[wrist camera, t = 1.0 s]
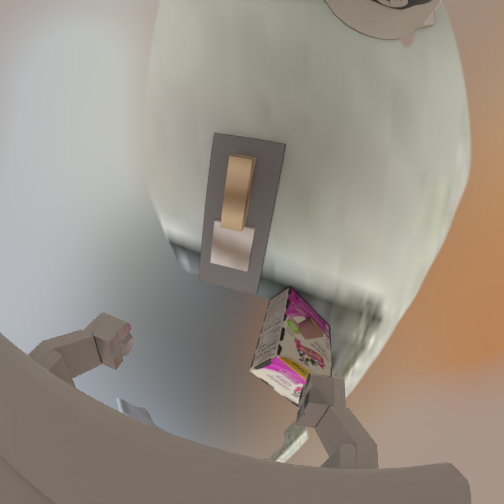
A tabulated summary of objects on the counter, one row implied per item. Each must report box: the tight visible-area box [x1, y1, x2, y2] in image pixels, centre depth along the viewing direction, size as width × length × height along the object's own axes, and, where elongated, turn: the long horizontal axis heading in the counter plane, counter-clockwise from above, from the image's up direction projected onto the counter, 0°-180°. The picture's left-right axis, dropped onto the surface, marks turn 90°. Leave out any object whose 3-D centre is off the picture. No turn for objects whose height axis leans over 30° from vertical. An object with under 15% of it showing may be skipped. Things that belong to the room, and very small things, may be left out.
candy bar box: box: [250, 287, 332, 408], centre depth 39 cm, size 11×5×16 cm, turn 45°
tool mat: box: [199, 133, 286, 295], centre depth 41 cm, size 24×10×1 cm, turn 171°
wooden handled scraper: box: [210, 154, 256, 271], centre depth 39 cm, size 17×6×3 cm, turn 171°
